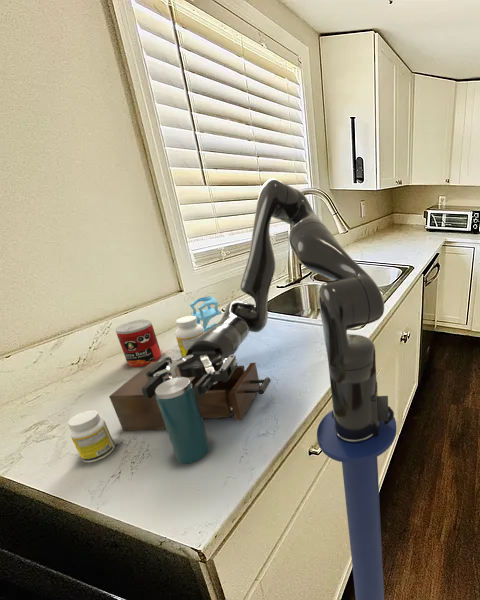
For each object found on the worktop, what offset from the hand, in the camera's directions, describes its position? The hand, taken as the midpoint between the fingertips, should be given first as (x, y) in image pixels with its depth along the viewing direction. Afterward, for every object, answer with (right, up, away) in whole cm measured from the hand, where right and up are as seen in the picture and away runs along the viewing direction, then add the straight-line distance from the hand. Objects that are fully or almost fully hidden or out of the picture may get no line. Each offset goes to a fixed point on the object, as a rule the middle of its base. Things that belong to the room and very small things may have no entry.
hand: (171, 393), depth 55 cm
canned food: (-34, -1, +37) cm, 50 cm away
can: (0, -13, +6) cm, 14 cm away
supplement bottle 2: (-19, -1, +37) cm, 41 cm away
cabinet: (-11, -9, +18) cm, 23 cm away
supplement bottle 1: (-18, -13, +6) cm, 23 cm away
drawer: (+1, -7, +18) cm, 19 cm away
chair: (-24, +5, +54) cm, 59 cm away
